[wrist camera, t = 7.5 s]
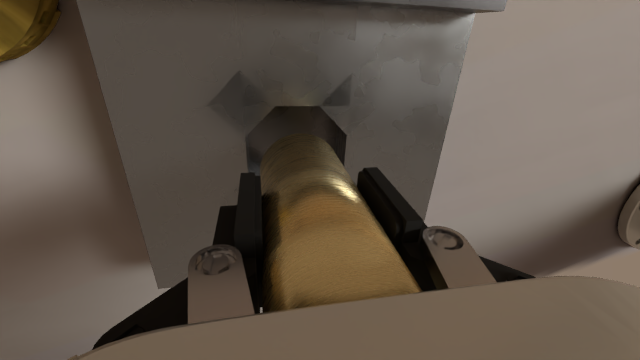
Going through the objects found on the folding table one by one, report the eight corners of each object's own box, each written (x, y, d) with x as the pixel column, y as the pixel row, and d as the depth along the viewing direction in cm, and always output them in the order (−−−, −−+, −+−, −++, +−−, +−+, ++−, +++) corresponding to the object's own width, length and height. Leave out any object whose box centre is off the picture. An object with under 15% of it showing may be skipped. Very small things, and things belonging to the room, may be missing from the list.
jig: (434, -12, 18) (515, -30, 12) (390, 226, 26) (427, 281, 21) (111, -38, 15) (20, -79, 9) (175, 244, 23) (148, 314, 17)
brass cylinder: (341, 132, 14) (473, 296, 6) (335, 202, 16) (429, 409, 7) (257, 133, 14) (259, 326, 5) (261, 207, 15) (267, 444, 7)
